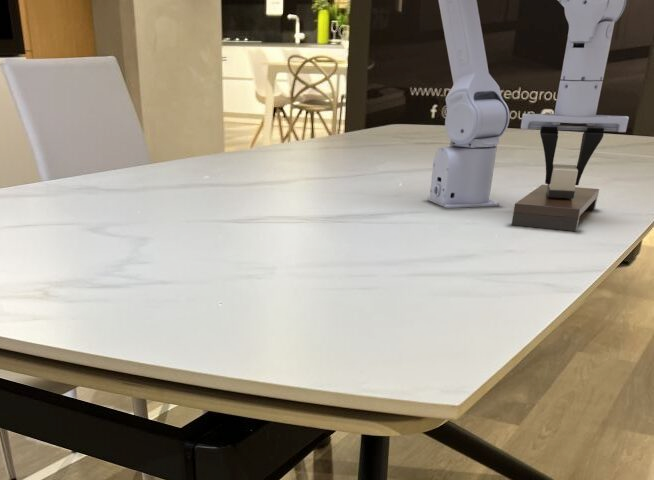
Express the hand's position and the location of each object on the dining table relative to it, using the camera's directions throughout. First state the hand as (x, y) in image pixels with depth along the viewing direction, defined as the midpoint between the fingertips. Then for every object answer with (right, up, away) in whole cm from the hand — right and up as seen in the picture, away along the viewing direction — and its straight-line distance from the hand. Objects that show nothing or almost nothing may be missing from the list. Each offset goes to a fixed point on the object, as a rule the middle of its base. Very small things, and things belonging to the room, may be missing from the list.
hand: (561, 183), depth 112 cm
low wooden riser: (0, -4, +2) cm, 5 cm away
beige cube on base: (0, -1, +1) cm, 1 cm away
